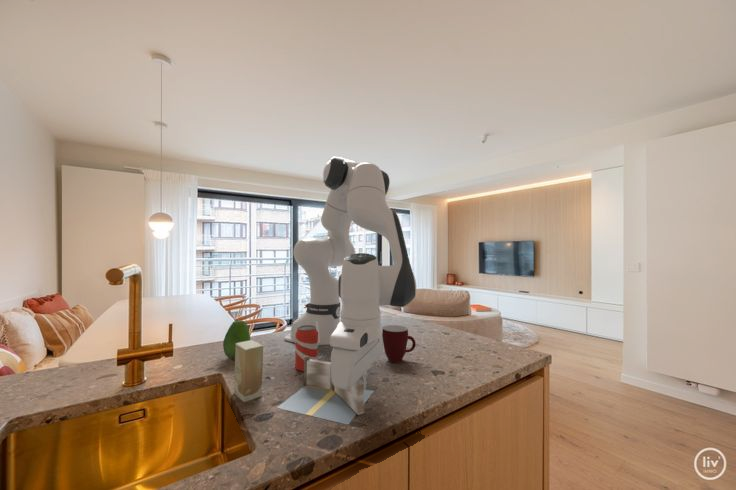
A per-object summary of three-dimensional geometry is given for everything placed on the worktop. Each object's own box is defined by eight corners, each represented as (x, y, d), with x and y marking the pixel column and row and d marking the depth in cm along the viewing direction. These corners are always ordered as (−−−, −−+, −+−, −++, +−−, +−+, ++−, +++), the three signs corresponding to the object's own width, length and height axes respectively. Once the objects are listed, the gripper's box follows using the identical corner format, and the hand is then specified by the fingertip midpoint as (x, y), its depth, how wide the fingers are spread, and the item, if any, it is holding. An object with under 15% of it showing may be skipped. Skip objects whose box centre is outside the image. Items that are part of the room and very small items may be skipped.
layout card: (276, 409, 65) (276, 407, 65) (312, 381, 79) (312, 379, 79) (348, 426, 59) (348, 424, 59) (373, 392, 73) (373, 390, 73)
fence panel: (334, 391, 72) (334, 364, 72) (339, 389, 73) (339, 363, 73) (357, 415, 62) (358, 384, 62) (363, 413, 62) (364, 382, 62)
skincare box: (233, 394, 71) (234, 342, 72) (251, 388, 74) (252, 339, 75) (244, 404, 67) (245, 349, 67) (263, 397, 70) (263, 345, 70)
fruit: (219, 357, 95) (220, 319, 95) (244, 352, 100) (245, 316, 101) (227, 365, 89) (227, 324, 89) (253, 359, 94) (254, 320, 95)
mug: (409, 354, 100) (410, 324, 100) (419, 363, 92) (419, 330, 92) (379, 356, 98) (379, 325, 98) (386, 366, 90) (386, 332, 90)
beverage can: (318, 372, 85) (318, 329, 85) (294, 374, 83) (295, 330, 83) (317, 364, 91) (317, 324, 91) (295, 365, 89) (296, 325, 89)
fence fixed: (302, 385, 76) (303, 357, 76) (305, 383, 77) (306, 355, 77) (336, 391, 72) (336, 362, 72) (338, 389, 74) (339, 360, 74)
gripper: (365, 314, 77) (365, 368, 77) (324, 340, 58) (325, 411, 58) (389, 317, 74) (389, 372, 75) (354, 345, 55) (354, 418, 56)
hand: (360, 389), depth 66 cm, fingers closed, pressing on fence panel
